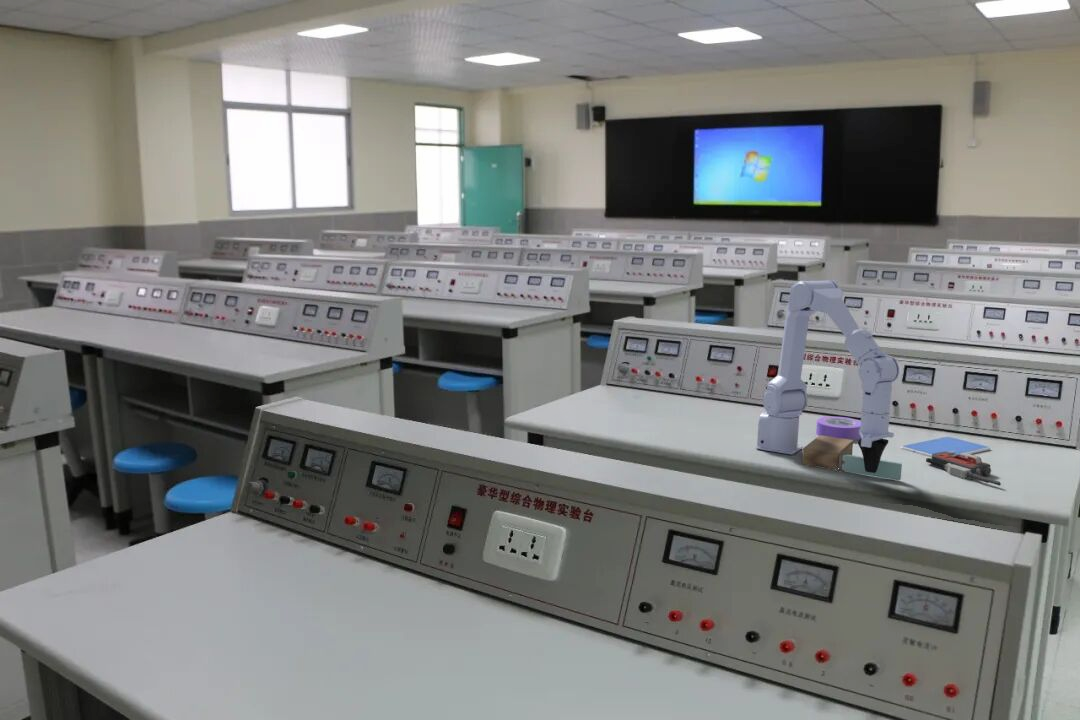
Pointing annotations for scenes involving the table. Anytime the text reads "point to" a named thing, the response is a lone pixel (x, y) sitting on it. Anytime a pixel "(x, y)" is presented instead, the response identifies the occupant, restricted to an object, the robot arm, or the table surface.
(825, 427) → the masking tape
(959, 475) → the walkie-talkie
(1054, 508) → the table surface
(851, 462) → the pale teal rectangular panel
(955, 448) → the tablet computer
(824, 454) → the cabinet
